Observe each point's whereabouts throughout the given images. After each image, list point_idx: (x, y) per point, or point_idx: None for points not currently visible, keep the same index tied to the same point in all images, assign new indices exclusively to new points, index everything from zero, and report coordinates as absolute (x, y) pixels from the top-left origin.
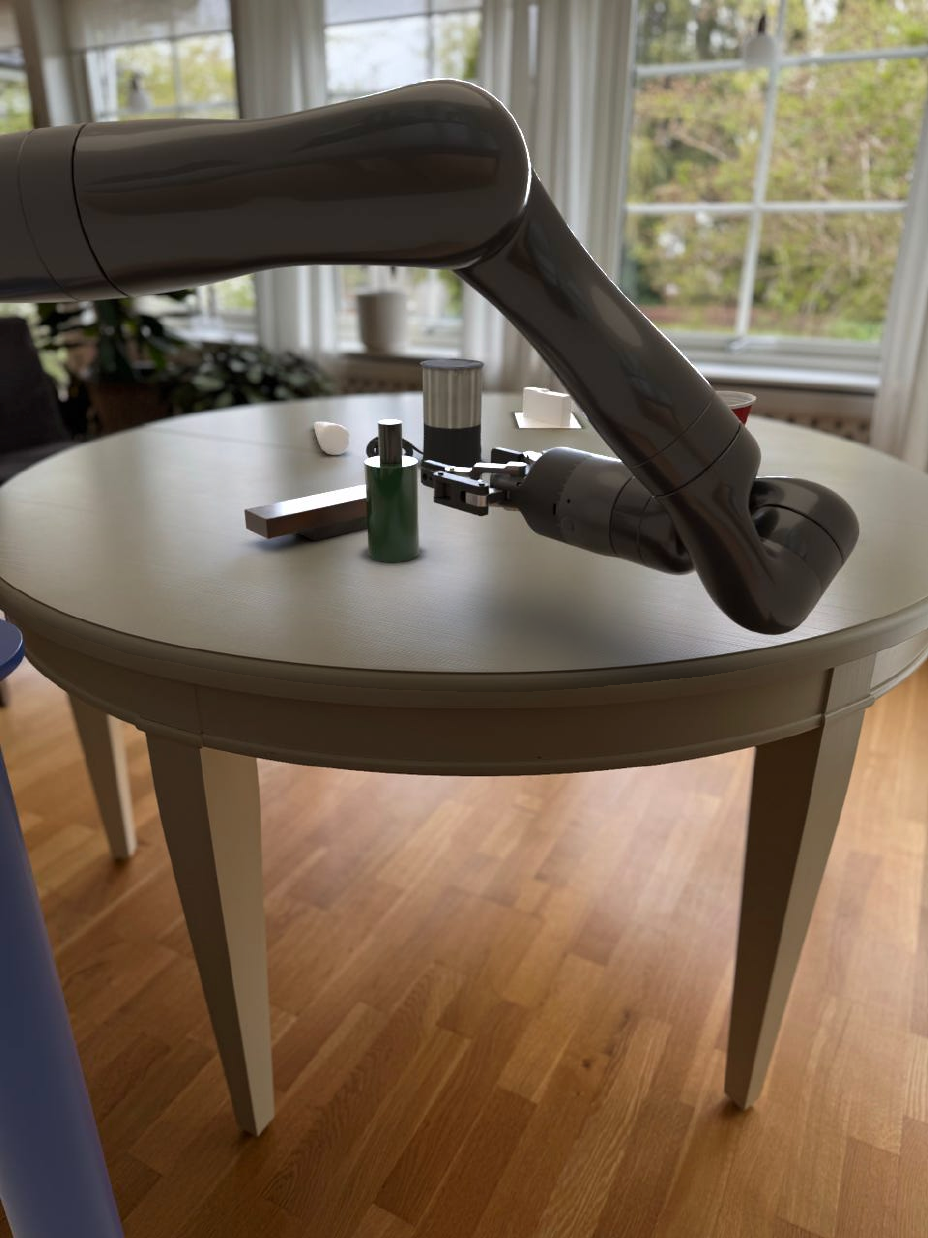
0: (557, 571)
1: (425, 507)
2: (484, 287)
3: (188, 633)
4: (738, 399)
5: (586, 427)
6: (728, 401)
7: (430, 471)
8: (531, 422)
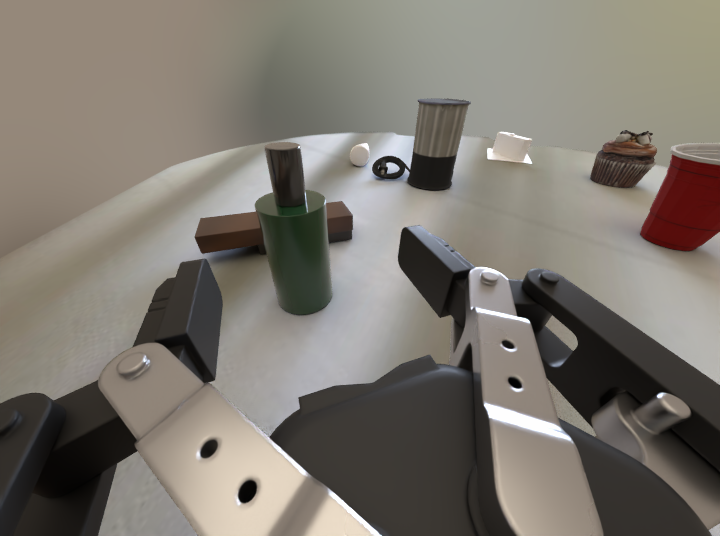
0: None
1: (382, 226)
2: None
3: None
4: None
5: (536, 163)
6: None
7: (148, 315)
8: (496, 156)
